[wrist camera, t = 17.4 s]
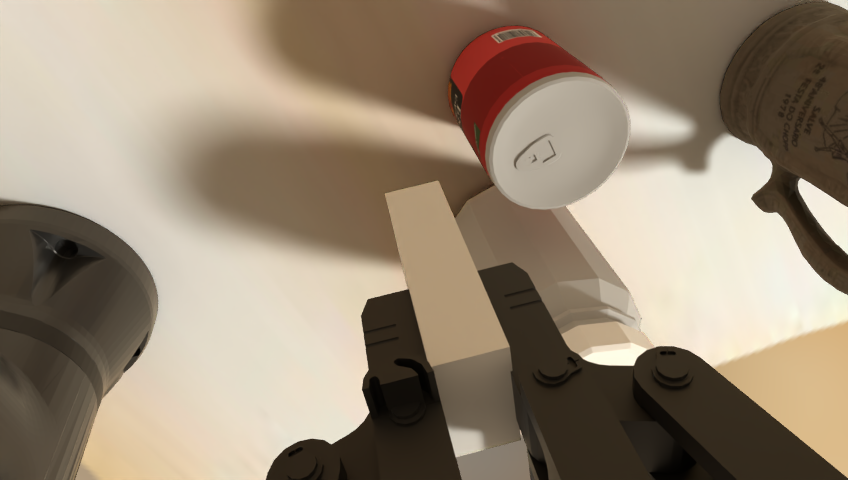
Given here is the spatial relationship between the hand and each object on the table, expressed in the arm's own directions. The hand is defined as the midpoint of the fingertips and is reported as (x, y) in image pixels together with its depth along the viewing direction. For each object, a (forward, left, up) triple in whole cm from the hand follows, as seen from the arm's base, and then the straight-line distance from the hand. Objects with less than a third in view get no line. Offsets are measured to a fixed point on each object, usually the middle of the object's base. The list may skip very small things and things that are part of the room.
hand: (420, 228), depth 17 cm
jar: (+8, -18, -25) cm, 32 cm away
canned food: (+9, -6, -25) cm, 27 cm away
